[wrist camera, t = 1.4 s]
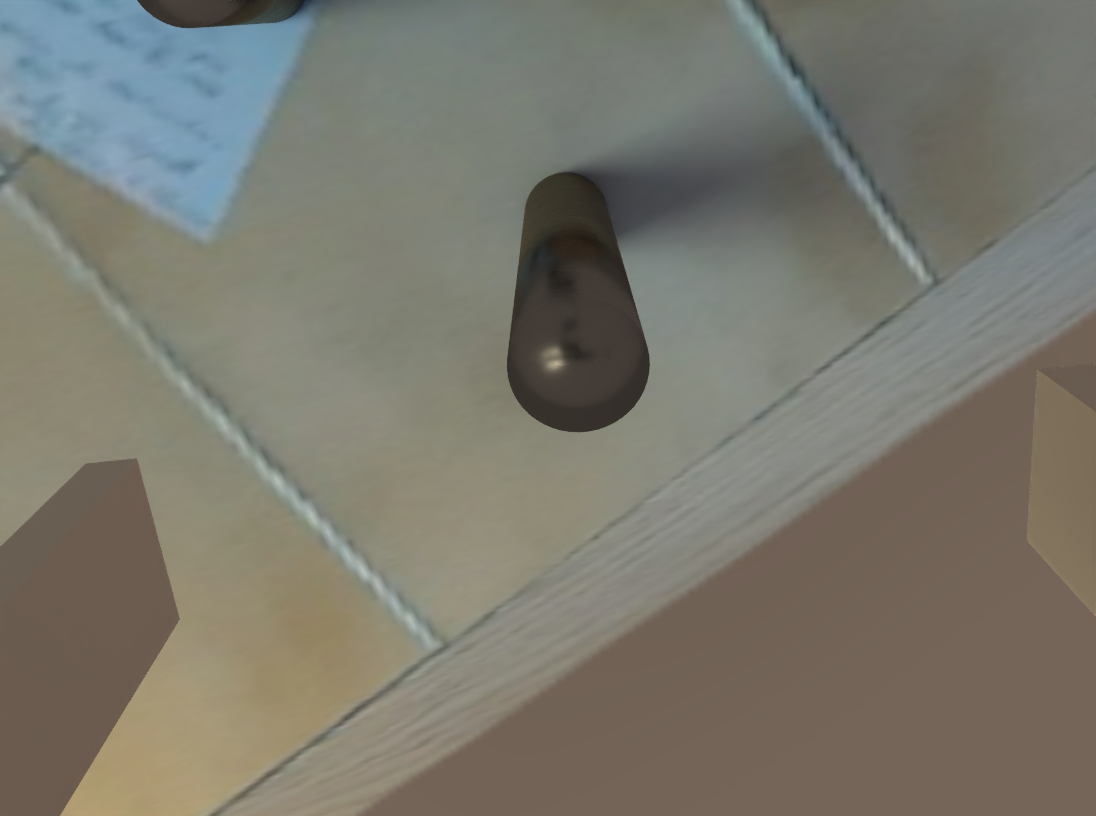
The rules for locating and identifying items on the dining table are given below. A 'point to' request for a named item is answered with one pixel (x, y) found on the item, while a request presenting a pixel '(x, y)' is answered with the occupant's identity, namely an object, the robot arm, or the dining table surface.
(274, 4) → the short pin
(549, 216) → the long pin
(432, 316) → the dining table surface
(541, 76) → the dining table surface
